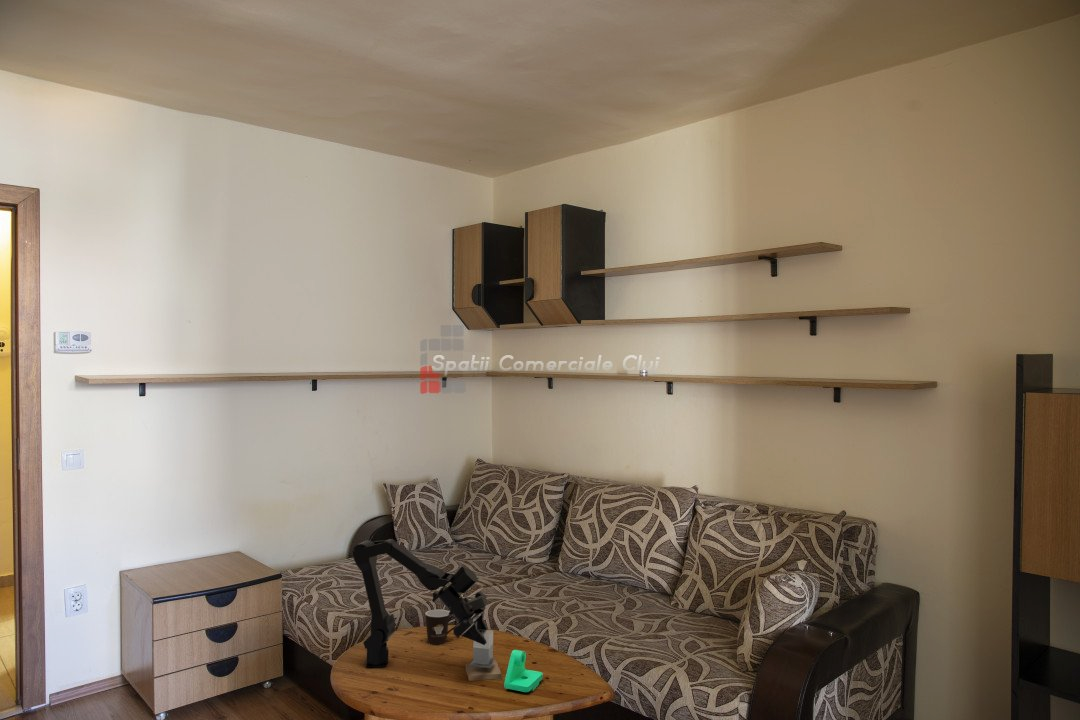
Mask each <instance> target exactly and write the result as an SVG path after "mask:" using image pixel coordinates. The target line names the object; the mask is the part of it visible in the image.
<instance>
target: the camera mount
mask: <svg viewBox="0 0 1080 720" xmlns="http://www.w3.org/2000/svg"><path fill="white" fill-rule="evenodd" d="M526 659H527V653H526V651H524V650H520V649H519V650H518V649H513V650H512V652H511V653H510V658H509V661H508V667H507V670H506V675H505V678H504V685H503V686H504V687H503V688H504V689H507V690H513V691H519V692H523V693H529V692H530V691H531V692H533V691H534V690H535V689H536V687H537V686H538V685H540V682H541V681H542V680H543V678H544V677H543V672H541V671H536V670H531V669H530V670H529V669H526V661H527V660H526ZM538 687H539V686H538ZM538 687H537V688H538Z"/></svg>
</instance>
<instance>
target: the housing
mask: <svg viewBox="0 0 1080 720" xmlns="http://www.w3.org/2000/svg"><path fill="white" fill-rule="evenodd" d="M478 630H479V632H480V633H481V635H482V636H483V638H484V639H485V641H486V644H485V645H482V644H480V643H478V642H476V641H473V640H472V641H473V643H472V644H473V646H472V648H473V649H472V661H471V662H470V663H471V664H470V666H474V667H484V668H491V666H492V665H493V663H494V662H496V658H494V656H493V653H494V630H492V629H491V630H490V629H488V630H482V629H478Z"/></svg>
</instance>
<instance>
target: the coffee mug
mask: <svg viewBox="0 0 1080 720" xmlns="http://www.w3.org/2000/svg"><path fill="white" fill-rule="evenodd" d="M449 612H450V611H449V610H448V609H447V610H445V609H431V610H428V611H426V612H425V613H424V614H425V624H426V635H427V636H426V638H427V644H429V643H430V644H429V645H431V644H433V645H432V646H441V645H440V644H442V645H445V644H446V643H447V638H448V634H449V633H451V631H453V630H454V628H455V627H456V626H457V625H458V624H457V623H458V622H459V621H458V620H457V623H456V625H455V626H453V627H452V628H451V629H449V623H450V622H451V620H452V619H453V618H455V617H454V615H453V614H452V615H451V616H450V614H449ZM445 642H446V643H445Z"/></svg>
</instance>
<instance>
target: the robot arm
mask: <svg viewBox="0 0 1080 720" xmlns="http://www.w3.org/2000/svg"><path fill="white" fill-rule="evenodd" d="M384 554H385V555H387V556H389V557H390V558H392V559H393V560H394V561H396V562H397V563H399V564H400V565H402V566H403V567H404V568H405V569H407V570H408V571H410V573H412V574H414V575H415V577H417V579H418V581H419V582H420V584H421V585H422V586H424V587H425V588H426V589H427V590H428V591H434V592H433V593H432V603H434V602H436V601H437V600H438V599H439V601H441V602H442V604H443V605H444V606H445V607H446V609H447V611H449V614H450V616H449V617H451V616H453V615H454V617H453V618H455V619H456V621H457V623H456V625H457V624H458V625H457V626H456V625H455V626H456V627H455V626H454V627H455V628H454V629H453V630H452V631H453V635H454V636H455V638H456V639H458V638H460V637H461V638H466V639H468V640H471V641H476V642H478V643H480V644H482V645H485V644H486V641H485V639H484V638H483V636H482V635H481V633H480V632H479V630H478V629H482V630H489V628H488V626H487V625H486V622H485V610H486V606H487V605H488V604H489V603H488V600H487V598H488V596H487V595H486V594H485V593H483V592H482V591H477V592H476V593H475V594H474V597H473V598H471V599H469V598H468V597H463V596H462V595H461V593H462V594H466V593H467V592H468V591H469V590H471V588H472V587H473V586H474V585H475V584H477V582H478V581H479V580H478V579H479V578H478V576H477V575H476V573H475V572H474V571H473V570H472V569H470V568H468V567H466V566H465V565H464V564H463V565H462V566H461V567H459V568H458V570H457V572H456V573H450V572H447V571H444V570H443V569H441V568H439V567H437V566H435V565H433V564H429V563H426V562H424V561H423V560H421V559H420V558H419V557H417V556H416V555H414V554H413V553H412V552H410V551H408V550H407V549H406V548H405V547H403V546H402V545H400V544H399V543H398V542H397V541H396V540H395V539H393V538H389V539H386V540H376V541H372V540H369V539H368V540H363V541H362V542H360V543H358V544H357V545H355V546H354V547H353V549H352V551H351V555H352V558H353V561H354V562H355V565H356V567H357V568H358V569H359V570H360V572H361V575H362V579H363V583H364V587H365V592H366V593H365V594H366V597H367V600H368V605H369V611H370V614H371V617H370V624H369V627H370V628H369V629H370V635H369V636H368V637H367V638H366V639H365V640H364V641H363V646H364V649H366V660H365V661H366V662H365V668H366V667H369V668H368V669H370V667H374V668H386V667H387V666H388V665H387V664H388V663H389V647H388V645H387V644H388V643H387V642H388V641H389V639H390V638H391V637H392V636H393V635H394V634H395V632H396V626H397V624H396V621H395V615H394V613H391V614H390V613H388V611H387V609H386V604H385V601H384V596H383V592H382V588H381V583H380V579H379V575H378V571H377V570H378V569H377V562H378V561H377V560H378V556H381V555H384ZM448 584H449V585H448ZM447 585H448V586H447ZM438 589H439V590H438ZM437 590H438V591H437ZM458 621H459V622H458Z"/></svg>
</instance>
